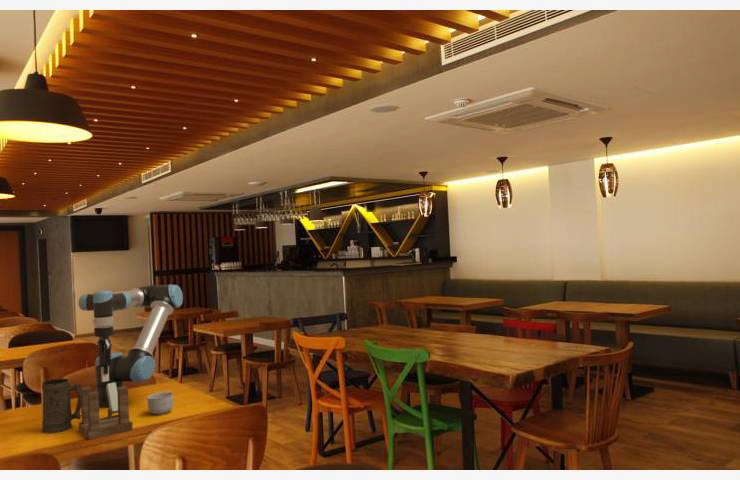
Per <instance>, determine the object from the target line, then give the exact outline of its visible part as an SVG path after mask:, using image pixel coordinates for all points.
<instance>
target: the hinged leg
mask: <svg viewBox="0 0 740 480" xmlns="http://www.w3.org/2000/svg"><path fill="white" fill-rule="evenodd" d="M106 390H107V396H108V401H109V407H108V408H109V409H111V410H112V415H113V414H118V395H117V387H116V382H115V383H109V384H107V386H106Z"/></svg>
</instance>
